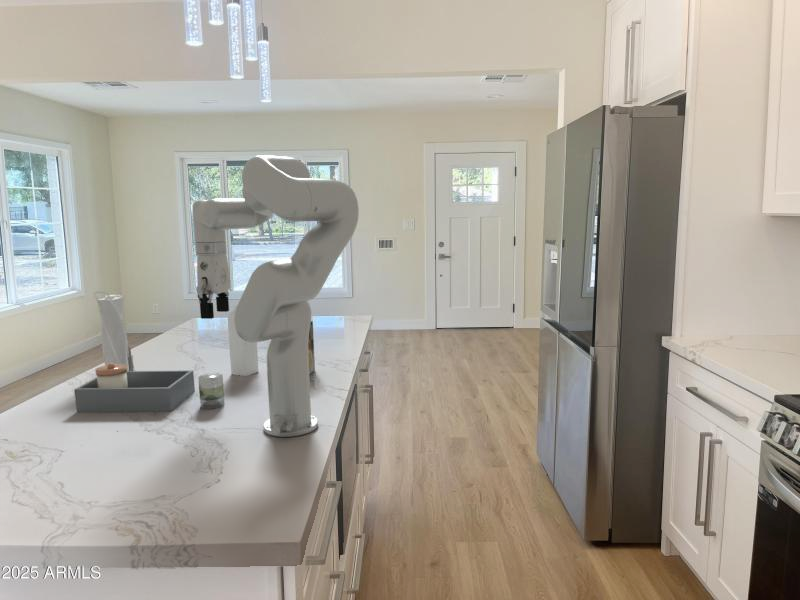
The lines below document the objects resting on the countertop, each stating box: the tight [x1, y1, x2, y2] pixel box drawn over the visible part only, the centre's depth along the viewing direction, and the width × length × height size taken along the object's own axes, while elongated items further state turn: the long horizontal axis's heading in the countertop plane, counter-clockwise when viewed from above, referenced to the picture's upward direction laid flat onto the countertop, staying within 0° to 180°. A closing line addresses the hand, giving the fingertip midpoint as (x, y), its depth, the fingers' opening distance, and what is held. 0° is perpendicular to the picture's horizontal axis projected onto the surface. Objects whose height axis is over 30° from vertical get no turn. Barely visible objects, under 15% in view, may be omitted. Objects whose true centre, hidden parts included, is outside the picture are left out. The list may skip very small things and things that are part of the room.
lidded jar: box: [94, 363, 128, 388], centre depth 151 cm, size 7×7×10 cm
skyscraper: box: [93, 290, 136, 371], centre depth 170 cm, size 8×8×28 cm
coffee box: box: [308, 320, 316, 375], centre depth 176 cm, size 9×6×16 cm
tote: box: [74, 369, 196, 414], centre depth 151 cm, size 16×24×7 cm, turn 89°
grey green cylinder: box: [198, 372, 225, 410], centre depth 150 cm, size 6×6×8 cm
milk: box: [227, 304, 259, 377], centre depth 178 cm, size 6×6×22 cm
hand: (215, 314), depth 149 cm, fingers open, 9 cm apart
